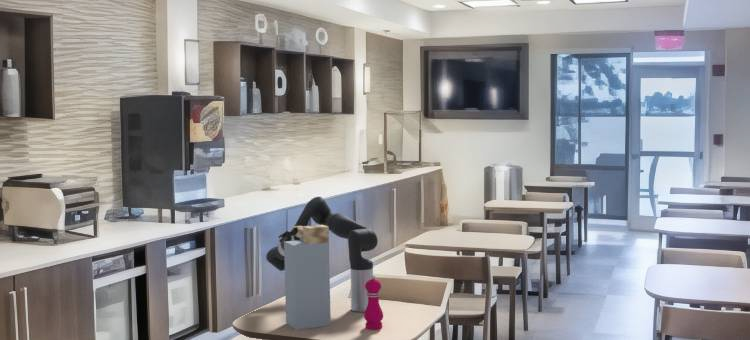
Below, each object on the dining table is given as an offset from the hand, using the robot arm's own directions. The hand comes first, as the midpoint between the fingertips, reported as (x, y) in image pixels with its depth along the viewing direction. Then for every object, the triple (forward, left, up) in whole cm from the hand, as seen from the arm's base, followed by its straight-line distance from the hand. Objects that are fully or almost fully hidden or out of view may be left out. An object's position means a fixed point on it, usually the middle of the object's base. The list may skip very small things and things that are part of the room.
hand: (301, 228), depth 324 cm
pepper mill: (-17, +29, -35) cm, 49 cm away
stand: (+3, +13, -35) cm, 38 cm away
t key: (0, +6, -3) cm, 7 cm away
